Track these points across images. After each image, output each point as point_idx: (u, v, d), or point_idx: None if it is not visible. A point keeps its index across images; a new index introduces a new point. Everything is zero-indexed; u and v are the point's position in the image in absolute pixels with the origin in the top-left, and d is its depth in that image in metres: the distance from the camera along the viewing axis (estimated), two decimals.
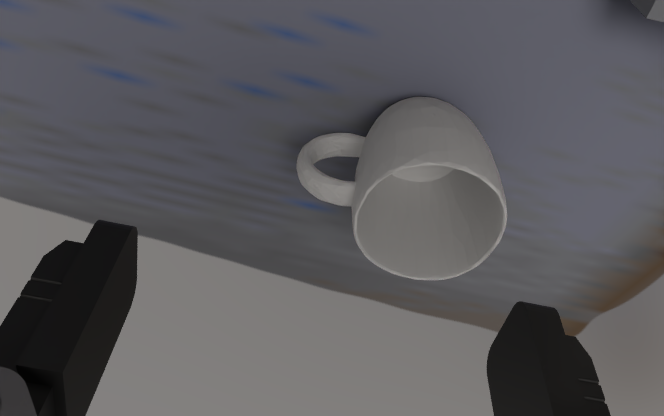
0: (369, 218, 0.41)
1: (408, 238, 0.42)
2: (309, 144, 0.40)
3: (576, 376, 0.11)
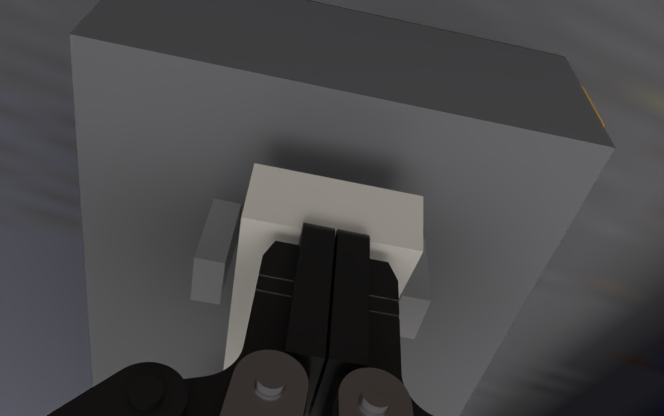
0: None
1: None
2: None
3: (368, 291, 0.12)
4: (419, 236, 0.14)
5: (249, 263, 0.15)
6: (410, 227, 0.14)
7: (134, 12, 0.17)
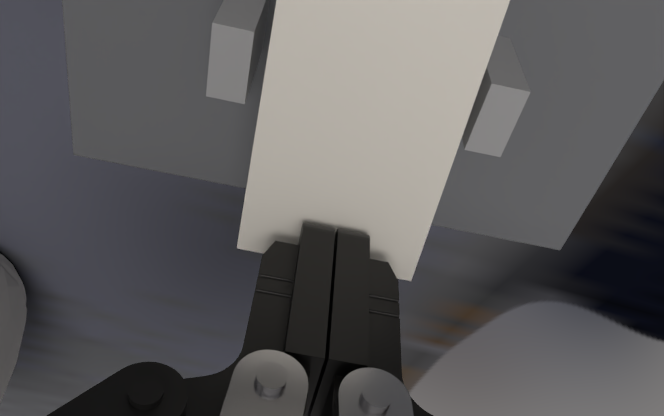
0: None
1: None
2: None
3: (368, 291, 0.12)
4: None
5: None
6: None
7: None
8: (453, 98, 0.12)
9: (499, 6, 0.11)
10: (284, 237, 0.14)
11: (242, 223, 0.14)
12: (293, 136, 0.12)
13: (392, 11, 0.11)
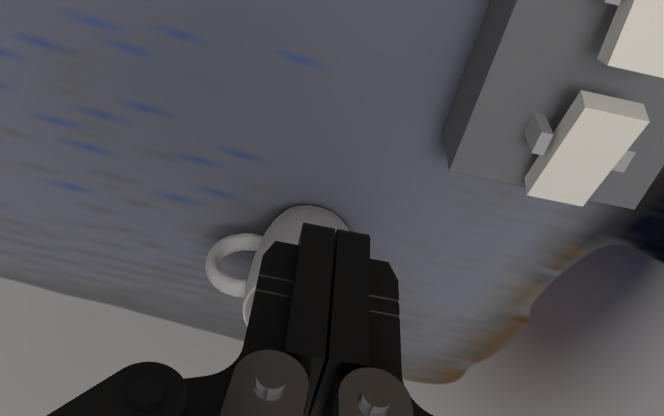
0: None
1: None
2: (216, 245, 0.52)
3: (368, 291, 0.12)
4: None
5: None
6: None
7: None
8: (610, 161, 0.39)
9: (630, 142, 0.38)
10: (544, 193, 0.42)
11: (531, 188, 0.42)
12: (557, 168, 0.40)
13: (598, 141, 0.38)
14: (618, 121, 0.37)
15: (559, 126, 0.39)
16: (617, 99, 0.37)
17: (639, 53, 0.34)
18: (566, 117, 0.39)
